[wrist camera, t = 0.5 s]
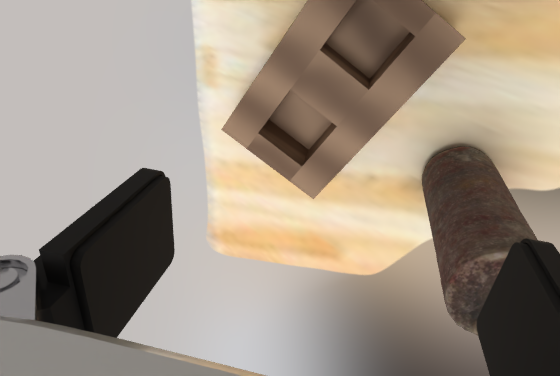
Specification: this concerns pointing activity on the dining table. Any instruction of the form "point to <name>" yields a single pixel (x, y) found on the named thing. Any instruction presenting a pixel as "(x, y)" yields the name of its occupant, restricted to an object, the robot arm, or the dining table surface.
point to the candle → (470, 228)
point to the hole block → (338, 83)
